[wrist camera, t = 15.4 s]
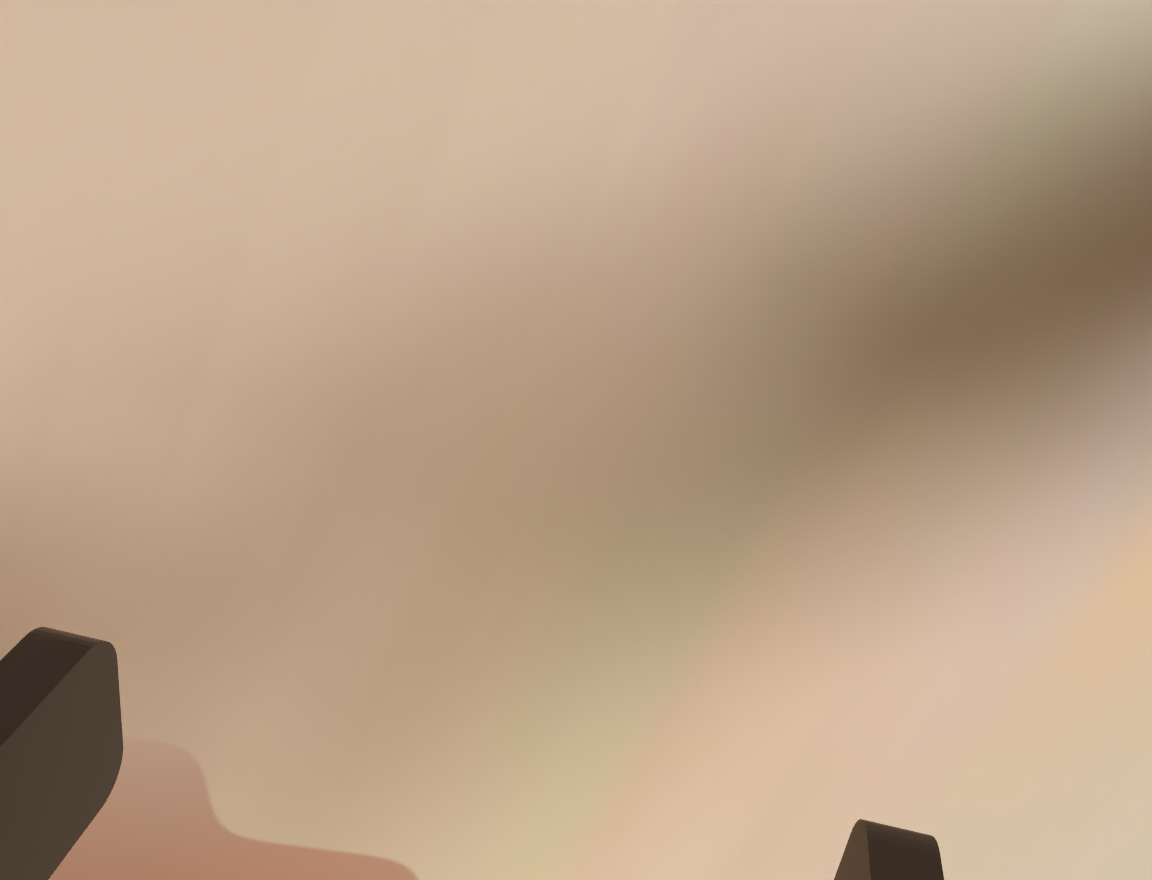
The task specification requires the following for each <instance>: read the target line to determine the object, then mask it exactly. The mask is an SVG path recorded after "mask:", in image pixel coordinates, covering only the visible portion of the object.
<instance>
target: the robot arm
mask: <svg viewBox="0 0 1152 880" xmlns="http://www.w3.org/2000/svg"><path fill="white" fill-rule="evenodd" d="M122 754H123V738H122V723H121V709H120V694H119V680H118V665H117V655H116V651H115V648H114V647H113V645H112V644H111V643H110V642H106V641H102V640H98V639H94V638H89V637H85V636H81V635H76V634H72V633H68V632H63V631H59V630H55V629H51V628H46V627H40V628H37V629H34V630H33V631H31V632H30V633H28V634H27V635H26V636H25V637H24V638H23V639H22V640H21V641H20V642H19V643H18V644H17V645H16V646H15V647H14V648H13V649H12V650H11V651H10V652H9V653H8V654H7V655H6V656H5V657H4V658H3V659H2V660H0V880H48V879H49V878H50V876H51V875H52V874H53V872H54V871H55V870H56V868H57V867H58V866H59V864H60V863H61V862H62V860H63V859H64V857H65V856H66V855H67V853H68V852H69V851H70V849H71V848H72V847H73V845H74V844H75V843H76V841H77V840H78V839H79V837H80V836H81V835H82V833H83V832H84V831H85V829H86V828H87V827H88V825H89V824H90V823H91V821H92V820H93V819H94V817H95V816H96V814H97V813H98V812H99V811H100V809H101V808H102V806H103V805H104V803H105V802H106V800H107V798H108V796H109V795H110V793H111V791H112V789H113V786H114V784H115V781H116V779H117V776H118V773H119V769H120V765H121V761H122ZM834 880H944V877H943V870H942V864H941V858H940V852H939V847H938V844H937V841H936V840H935V838H934V837H933V836H931V835H926V834H922V833H918V832H913V831H909V830H905V829H901V828H896V827H892V826H888V825H883V824H879V823H875V822H870V821H866V820H862V819H860V820H858V821H857V822H856V824H855V825H854V827H853V829H852V832H851V834H850V837H849V840H848V843H847V845H846V848H845V851H844V854H843V857H842V859H841V862H840V865H839V868H838V870H837V873H836V876H835V879H834Z"/></svg>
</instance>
